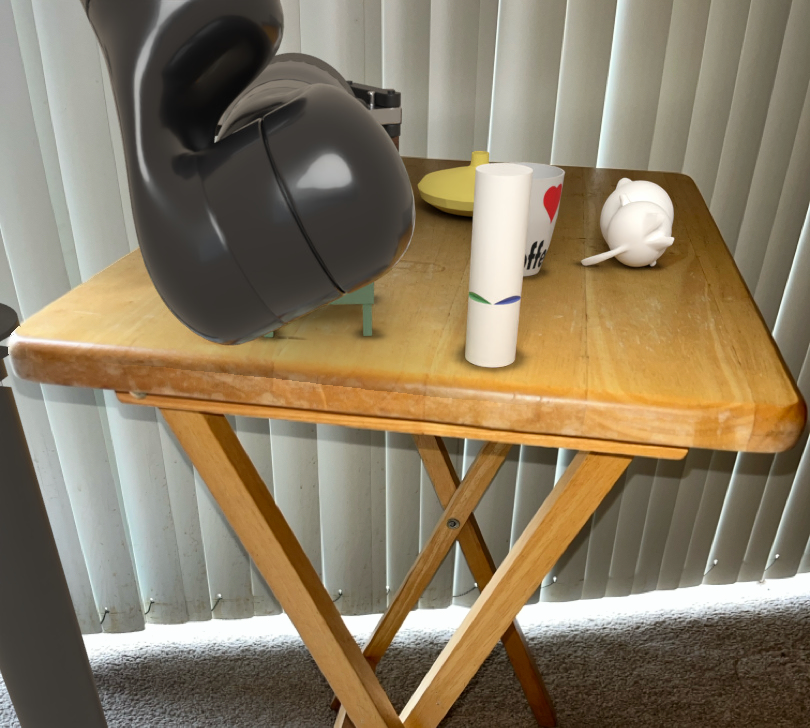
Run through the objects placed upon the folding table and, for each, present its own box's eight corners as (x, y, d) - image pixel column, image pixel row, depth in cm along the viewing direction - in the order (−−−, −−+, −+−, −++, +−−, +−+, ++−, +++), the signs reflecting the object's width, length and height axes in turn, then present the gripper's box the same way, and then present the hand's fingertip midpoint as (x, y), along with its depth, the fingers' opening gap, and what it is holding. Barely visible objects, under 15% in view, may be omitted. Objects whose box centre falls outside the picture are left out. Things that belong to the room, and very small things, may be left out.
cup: (496, 284, 87) (503, 181, 81) (467, 260, 93) (472, 164, 87) (566, 277, 89) (579, 176, 83) (533, 254, 95) (543, 159, 89)
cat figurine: (662, 183, 83) (652, 154, 93) (563, 236, 88) (564, 203, 97) (694, 260, 87) (682, 225, 97) (599, 307, 92) (596, 269, 101)
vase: (561, 219, 107) (568, 160, 103) (452, 233, 102) (455, 171, 97) (498, 191, 119) (502, 137, 115) (397, 202, 113) (397, 145, 109)
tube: (467, 345, 74) (478, 161, 65) (516, 349, 73) (534, 164, 64) (462, 365, 70) (472, 174, 62) (513, 369, 70) (531, 177, 61)
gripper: (420, 62, 44) (399, 31, 58) (157, 60, 43) (201, 30, 57) (417, 211, 48) (398, 149, 62) (178, 212, 48) (214, 149, 62)
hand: (304, 92), depth 60 cm, fingers closed
